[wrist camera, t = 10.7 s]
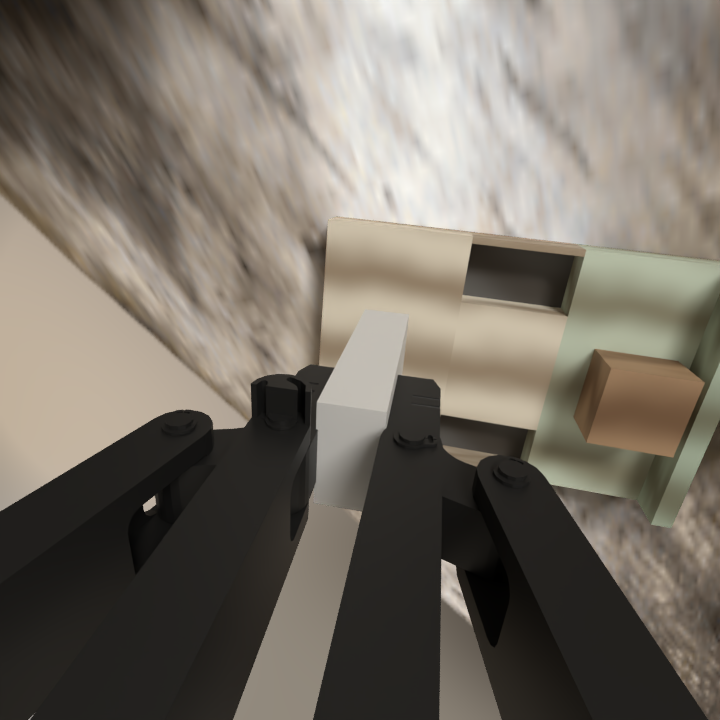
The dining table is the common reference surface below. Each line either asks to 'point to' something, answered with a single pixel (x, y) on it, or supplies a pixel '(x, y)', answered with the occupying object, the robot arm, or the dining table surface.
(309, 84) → the dining table surface
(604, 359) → the walnut block
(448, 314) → the trap board
